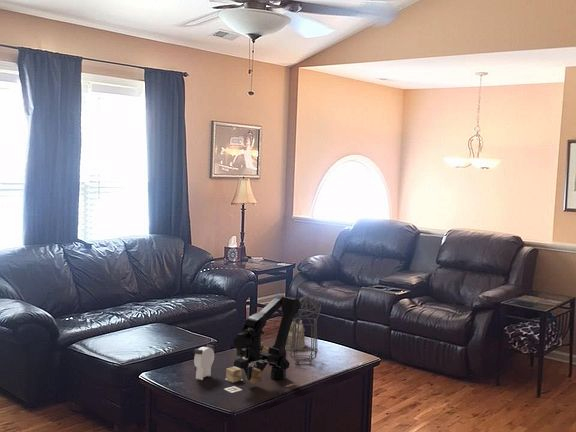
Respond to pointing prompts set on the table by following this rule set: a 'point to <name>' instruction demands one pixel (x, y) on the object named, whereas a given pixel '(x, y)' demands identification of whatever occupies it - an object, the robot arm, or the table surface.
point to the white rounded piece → (203, 361)
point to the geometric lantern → (305, 324)
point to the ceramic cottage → (300, 337)
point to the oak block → (233, 374)
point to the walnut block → (255, 375)
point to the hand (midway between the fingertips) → (253, 379)
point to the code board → (233, 388)
